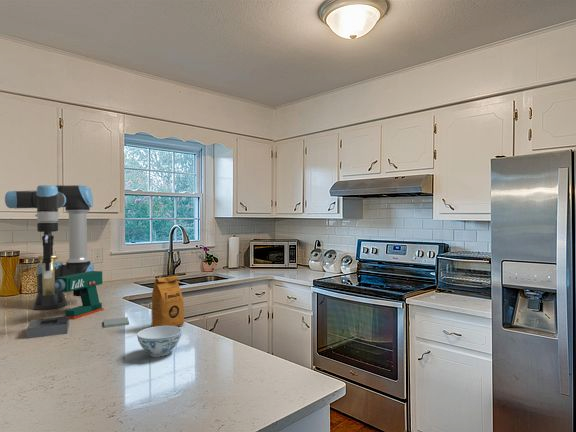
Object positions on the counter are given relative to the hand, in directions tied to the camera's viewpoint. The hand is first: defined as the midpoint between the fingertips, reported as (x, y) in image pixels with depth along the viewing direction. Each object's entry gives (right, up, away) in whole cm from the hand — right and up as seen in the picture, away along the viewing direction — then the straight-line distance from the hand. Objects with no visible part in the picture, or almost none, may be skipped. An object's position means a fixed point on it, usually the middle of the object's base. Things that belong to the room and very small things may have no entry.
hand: (48, 277), depth 167 cm
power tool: (-1, -23, +22) cm, 32 cm away
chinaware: (+56, -23, -27) cm, 66 cm away
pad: (+24, -22, +12) cm, 35 cm away
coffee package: (+49, -23, +5) cm, 54 cm away
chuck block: (0, -23, 0) cm, 23 cm away
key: (0, -7, 0) cm, 7 cm away
